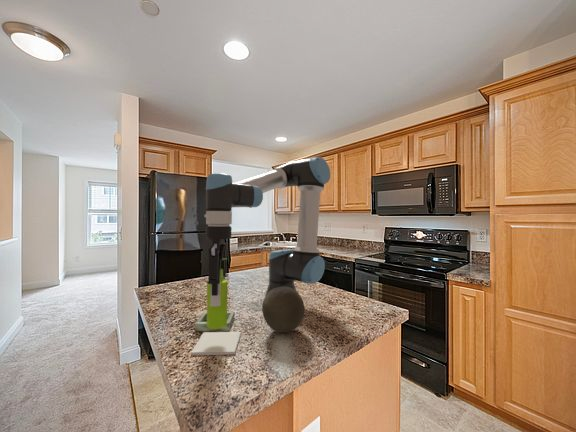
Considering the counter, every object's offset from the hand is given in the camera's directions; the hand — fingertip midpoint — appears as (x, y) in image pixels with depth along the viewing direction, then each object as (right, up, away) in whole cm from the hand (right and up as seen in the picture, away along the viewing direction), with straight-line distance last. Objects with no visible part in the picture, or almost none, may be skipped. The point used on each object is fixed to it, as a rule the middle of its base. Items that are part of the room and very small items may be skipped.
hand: (218, 301), depth 76 cm
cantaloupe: (+20, -13, +8) cm, 25 cm away
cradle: (-5, -13, +14) cm, 19 cm away
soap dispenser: (0, -7, 0) cm, 7 cm away
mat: (0, -13, 0) cm, 13 cm away
